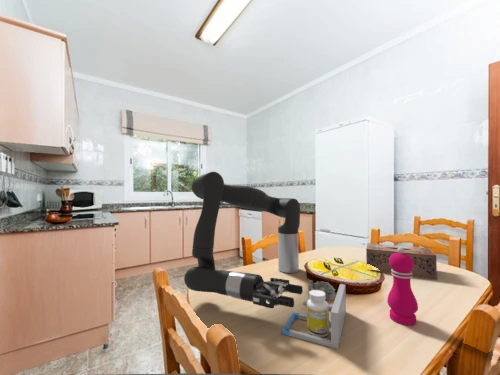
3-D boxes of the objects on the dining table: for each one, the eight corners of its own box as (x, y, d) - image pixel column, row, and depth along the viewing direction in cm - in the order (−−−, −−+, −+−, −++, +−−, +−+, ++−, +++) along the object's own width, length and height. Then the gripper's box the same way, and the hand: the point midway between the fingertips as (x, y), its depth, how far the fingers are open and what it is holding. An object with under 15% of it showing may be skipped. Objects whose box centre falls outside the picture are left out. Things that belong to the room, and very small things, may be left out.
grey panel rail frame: (301, 302, 77) (300, 277, 77) (345, 311, 71) (345, 284, 71) (281, 333, 60) (281, 301, 60) (338, 349, 54) (337, 313, 54)
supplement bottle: (314, 323, 64) (313, 287, 65) (333, 331, 61) (332, 292, 61) (303, 331, 61) (302, 292, 61) (322, 340, 57) (322, 299, 57)
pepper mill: (423, 328, 62) (421, 251, 62) (393, 325, 63) (391, 249, 64) (411, 314, 69) (409, 245, 70) (383, 311, 70) (382, 244, 71)
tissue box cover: (430, 270, 109) (429, 248, 110) (437, 280, 97) (436, 255, 97) (368, 262, 122) (367, 243, 122) (366, 270, 109) (366, 248, 109)
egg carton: (306, 288, 89) (306, 277, 89) (326, 288, 89) (326, 277, 89) (315, 301, 78) (314, 289, 78) (337, 301, 78) (337, 288, 78)
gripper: (232, 281, 64) (290, 291, 57) (254, 266, 77) (304, 273, 70) (232, 309, 64) (290, 323, 57) (254, 290, 77) (304, 299, 70)
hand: (298, 296), depth 63 cm, fingers open, 8 cm apart
